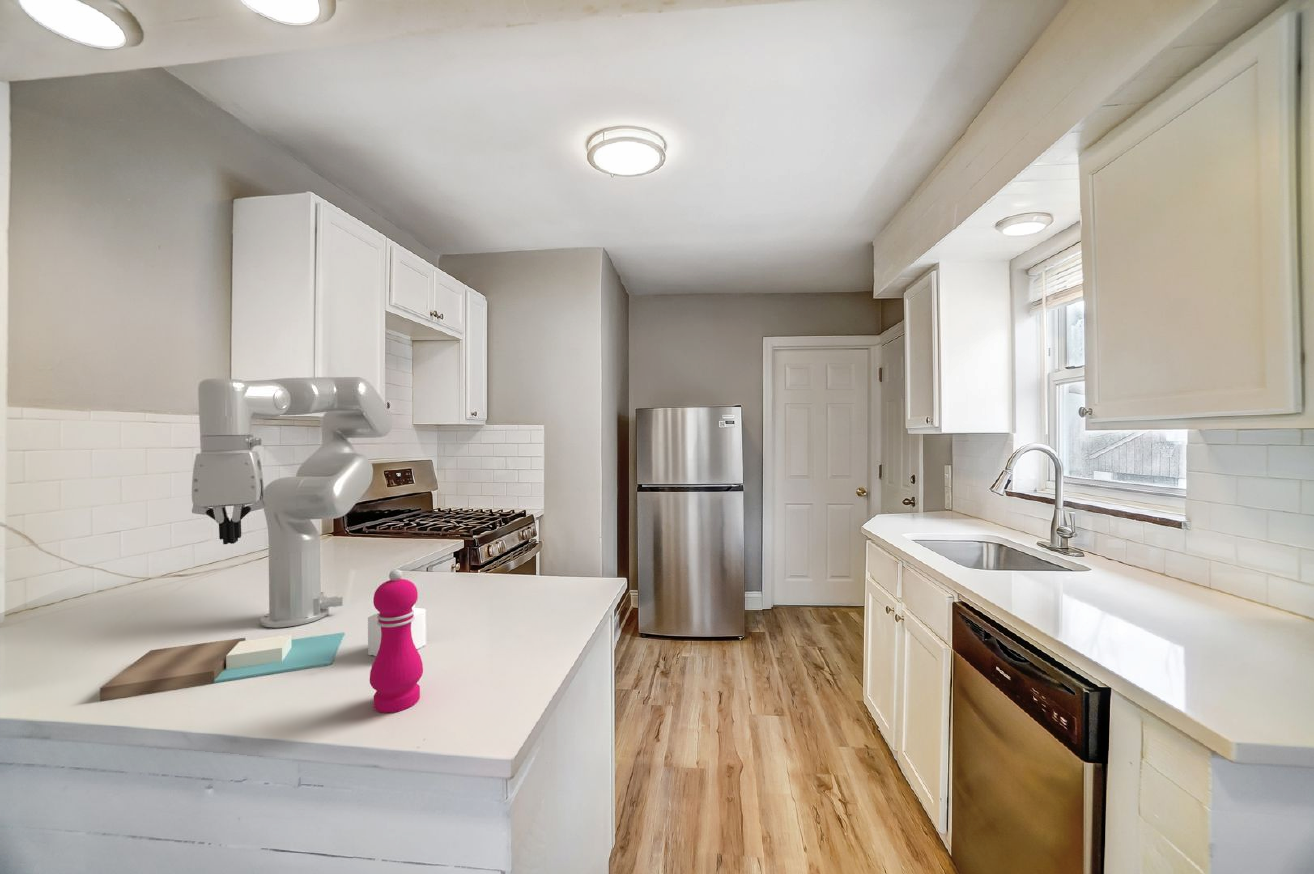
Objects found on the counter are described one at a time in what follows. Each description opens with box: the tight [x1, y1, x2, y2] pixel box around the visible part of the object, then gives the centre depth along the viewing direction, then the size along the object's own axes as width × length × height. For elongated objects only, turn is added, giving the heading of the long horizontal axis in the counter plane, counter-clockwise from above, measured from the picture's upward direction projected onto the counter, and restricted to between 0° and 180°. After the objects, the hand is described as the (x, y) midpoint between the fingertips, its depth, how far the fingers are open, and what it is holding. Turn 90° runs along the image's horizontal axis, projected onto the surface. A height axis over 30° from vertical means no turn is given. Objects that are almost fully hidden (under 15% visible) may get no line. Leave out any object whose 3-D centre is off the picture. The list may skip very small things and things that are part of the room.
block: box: [226, 634, 292, 670], centre depth 96 cm, size 8×7×2 cm
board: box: [99, 637, 246, 702], centre depth 91 cm, size 14×16×2 cm
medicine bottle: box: [367, 604, 427, 657], centre depth 99 cm, size 7×7×12 cm
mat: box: [210, 631, 345, 684], centre depth 97 cm, size 17×16×1 cm
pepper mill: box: [369, 569, 424, 714], centre depth 79 cm, size 7×7×20 cm
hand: (230, 542), depth 99 cm, fingers closed
